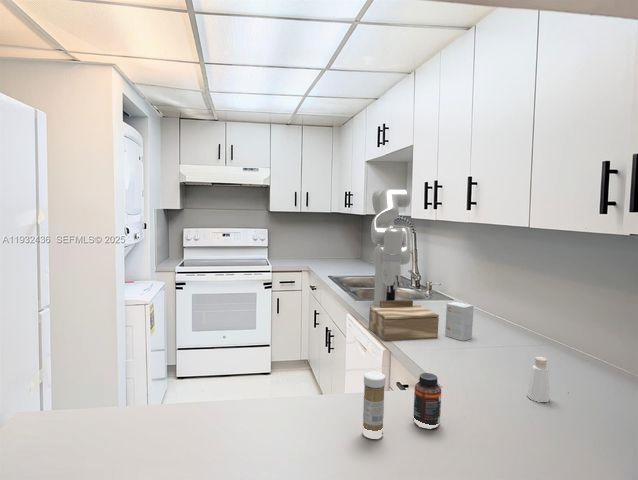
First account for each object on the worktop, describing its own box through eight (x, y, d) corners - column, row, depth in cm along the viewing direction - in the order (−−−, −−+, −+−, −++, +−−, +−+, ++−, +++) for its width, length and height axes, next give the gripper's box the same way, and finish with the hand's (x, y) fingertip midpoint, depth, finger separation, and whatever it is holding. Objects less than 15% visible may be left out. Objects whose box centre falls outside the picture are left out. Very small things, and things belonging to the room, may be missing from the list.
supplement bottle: (445, 427, 94) (448, 378, 93) (426, 433, 91) (428, 383, 90) (426, 415, 99) (428, 369, 98) (407, 420, 96) (409, 373, 95)
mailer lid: (369, 308, 168) (369, 300, 168) (418, 307, 173) (419, 299, 173) (385, 319, 153) (385, 310, 152) (438, 317, 158) (439, 308, 158)
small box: (472, 338, 160) (474, 305, 159) (463, 341, 156) (465, 307, 155) (453, 333, 166) (455, 301, 165) (444, 335, 162) (446, 303, 161)
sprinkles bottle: (381, 429, 92) (383, 371, 91) (384, 441, 87) (387, 379, 86) (360, 429, 92) (363, 370, 91) (362, 440, 87) (365, 378, 86)
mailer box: (368, 328, 169) (369, 309, 168) (417, 326, 174) (418, 307, 173) (384, 341, 153) (385, 320, 153) (437, 338, 159) (438, 317, 158)
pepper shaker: (522, 395, 111) (524, 355, 110) (537, 392, 113) (539, 353, 112) (539, 404, 106) (542, 362, 105) (554, 401, 108) (557, 360, 107)
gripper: (377, 256, 180) (375, 297, 181) (391, 260, 165) (389, 305, 167) (393, 256, 182) (391, 297, 183) (408, 260, 167) (406, 305, 168)
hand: (390, 301), depth 175 cm, fingers closed
